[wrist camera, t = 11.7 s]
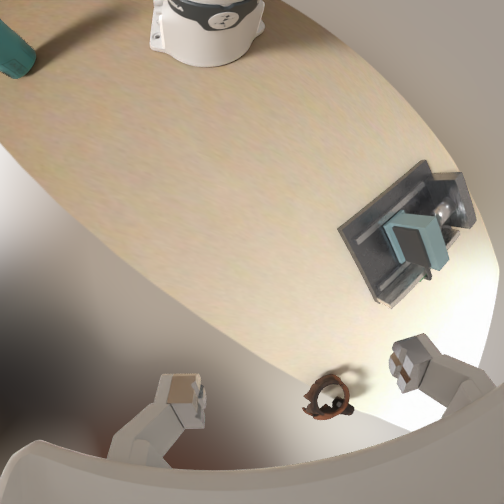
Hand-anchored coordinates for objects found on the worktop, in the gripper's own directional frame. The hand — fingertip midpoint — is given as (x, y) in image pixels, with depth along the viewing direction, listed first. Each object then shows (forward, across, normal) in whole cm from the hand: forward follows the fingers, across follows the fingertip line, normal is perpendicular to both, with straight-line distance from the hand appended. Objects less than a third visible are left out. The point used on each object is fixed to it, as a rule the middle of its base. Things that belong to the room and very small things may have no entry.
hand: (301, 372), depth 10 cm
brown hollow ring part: (+26, -9, +37) cm, 46 cm away
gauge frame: (+35, -27, +8) cm, 45 cm away
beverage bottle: (+32, +37, -33) cm, 59 cm away
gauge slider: (+32, -26, +11) cm, 43 cm away
